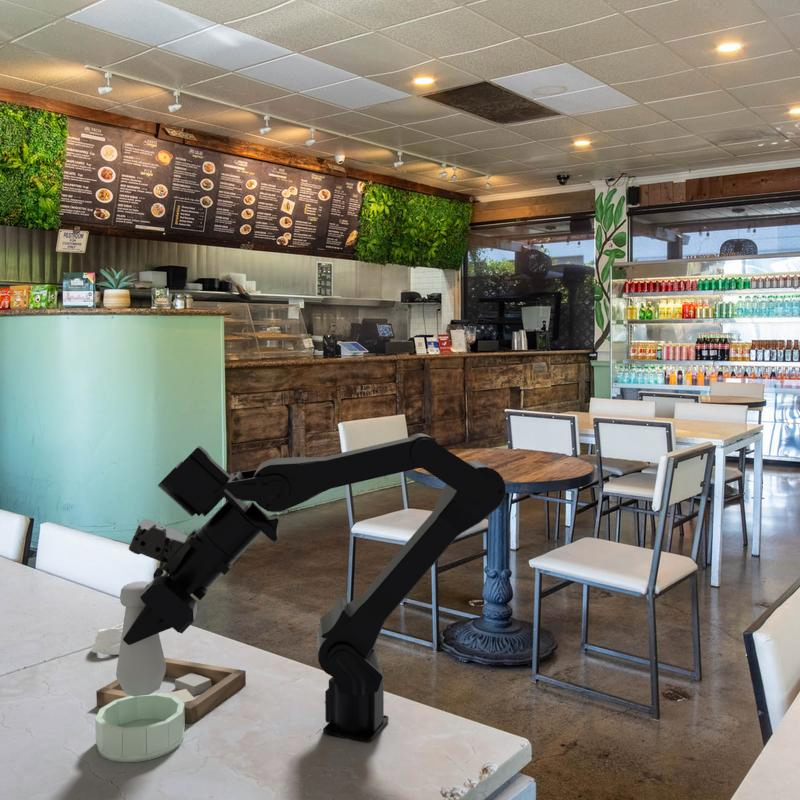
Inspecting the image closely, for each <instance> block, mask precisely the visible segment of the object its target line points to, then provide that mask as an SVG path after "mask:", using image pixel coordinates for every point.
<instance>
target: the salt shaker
mask: <svg viewBox="0 0 800 800" xmlns="http://www.w3.org/2000/svg"><path fill="white" fill-rule="evenodd" d="M151 582H152V581H144V580H142V581H141V580H140V581H139V580H138V581H133V582H130V583H127V584H125V585H123V587H122V588H121V589H120V596H119V599H120V604H121V605H122V606H123V607H125V608H124V609H125V612H124V616H123V621H124V623H123V630H122V637H121V643H120V650H119V655H118V658H117V666H116V673H115V678H116V680H118V682H119V684H120V686H121V688H122V690H123V692H124V693H126V694H128V695H131V696H133V697H134V696H142V695H150V694H151V693H156V691H159V690H160V689H161V686H162V683H163V681H164V678H165V676H166V675H165V673H166V662H165V658H166V657H165V656H164V655H165V654H164V650H163V646H162V643H161V639H160V633H157V634H155V635H152V636H150V637H148V638H145V639H143V640H141V641H138V642H136V643H134V644H131V645H128V644H127V643H125V642H124V641H123V638H124V636H125V635H126V633H127V632H128V630H129V629H130V627H131V626H132V624H133V623H134V621H135V620H136V618H137V617H138V615H139V614H140V612H141V611H142V609H143V608H144V606H145V603H143V601H142V600H141V598H140V596H141V595H142V593H143V591H144V589H145V587H146V586H147V584H150V583H151Z"/></svg>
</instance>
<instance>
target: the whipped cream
mask: <svg viewBox="0 0 800 800" xmlns="http://www.w3.org/2000/svg"><path fill="white" fill-rule="evenodd" d="M123 623H124V620H122V621H121V622H120V623H118V624H117V625H115V626H112V627H111V626H110V627H108V628H104V629H103V628H102V629H98V630H97V631H98V632H97V634H96V636H95V640H94V642H95V643H94V644H93V648H91V649H90V651H91V652H92V653H94V654H97V653H99V654H103V655H108V656H113V655H117V656H119V650H120V643H121V637H122V630H123Z"/></svg>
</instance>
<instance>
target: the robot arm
mask: <svg viewBox="0 0 800 800" xmlns="http://www.w3.org/2000/svg"><path fill="white" fill-rule="evenodd" d="M417 469H422V470H424V471H426V472H427V473H429V474H431V475H432V476H434V477H435V478H436V479H438V480H440V481H441V482H442V483H444V484H445V485H444V487H443V488H442V490H441V492H440V495H439V497H438V499H437V502H436V504H435V507H434V509H433V511H432V512H431V513H430V515H429V516H428V517H427V518H426V519H425V521H424V522H423V523H422V524H421V525H420V526H419V528H418V529H417V530H416V531H415V532H414V533H413V534H412V536H411V537H410V538H409V539H408V540H407V542H406V543H405V544H404V545H402V547H401V549H399V551H398V552H397V553H396V554H395V556H393V558H392V559H391V560H389V562H388V563H387V565H386V566H385V567H384V568H383V570H381V572H380V573H378V575H377V577H376V578H375V579H373V581H372V582H371V583H370V585H369V586H368V587H367V588H366V589H365V591H364V592H363V593H362V594H361V595H360V596H358V597H357V598H354V599H352V600H351V601H349V602H348V601H346V600H345V599H344V597H343V596H339V597H338V599H337V600H336V601H335V603H334V605H333V606H332V608H331V609H330V611H328V612H327V613H326V614H325V615H323V616H321V617H319V625H320V626H319V628H318V630H317V633H316V644H317V657H318V658H317V662H318V663H319V666H320V668H321V669H322V671H323V672H324V673H325V674H327V675H329V676H331V677H330V678H329V679H328V688H327V689H326V690H325V692H324V693H325V694H324V695H325V696H324V697H325V701H324V704H325V707H324V709H325V712H324V713H325V719H324V720H325V722H326V723H327V724H326V725H325V726H324V727H323V728H322V733H323V735H324V734H325V735H330V736H334V737H335V736H336V737H339V738H346V739H352V740H355V741H356V740H357V741H363V742H367V743H368V742H371V741H373V740H374V738H375V737H376V736H377V735H378V733H380V732H381V730H382V729H383V728H384V727H385V725H386V724H387V723H388V722H389V716H388V715H385V714H384V711H385V710H384V705H385V703H384V694H385V693H384V688H385V687H384V685H385V684H384V682H385V681H384V677H383V674H382V670H381V666H380V662H379V658H378V654H377V651H376V649H375V648H374V647H375V646H376V643H377V640H378V639H379V636H380V633H381V631H382V628H383V626H384V625H385V623H386V621H387V620H388V618H389V617H390V616H391V615H392V613H394V611H395V610H396V609H397V608H398V607H399V605H400V604H401V603H402V602H403V601H404V600H405V598H406V597H407V596H408V595H409V594H410V593H411V591H412V590H413V589H414V588H415V587H416V586H417V584H418V583H419V582H420V581H421V580H422V579H423V577H424V576H425V575H426V574H427V573H428V572H429V570H430V569H431V568H432V567H433V566H434V565H435V564H436V562H437V561H438V560H439V559H440V557H442V555H443V554H444V553H445V552H446V551H447V549H448V548H449V547H450V546H451V545H452V543H453V542H454V541H456V539H457V537H459V536H460V535H461V534H463V533H465V532H466V531H468V530H470V529H472V528H474V527H475V526H477V525H479V524H481V523H482V521H484V520H485V519H486V518H488V517H489V516H490V515H492V514H493V513H494V512H495V511H496V510H498V508H499V507H501V505H502V504H503V502H504V500H505V498H506V495H507V493H506V491H507V490H506V482H505V480H504V478H503V476H502V474H500V473H499V472H498V471H497V470H495V469H493V468H492V467H490V466H488V465H487V464H485V463H483V462H481V461H478V460H466V461H465V460H463V459H462V458H461V457H459V456H457V455H455V454H454V453H452V452H451V451H450V450H449V449H446V448H445V447H443V446H442V445H440V444H438V442H437V440H435V439H434V438H433V437H431V436H430V435H428V434H425V433H414V434H412V435H410V436H409V437H405V438H401V439H396V440H392V441H388V442H382V443H379V444H374V445H370V446H367V447H365V446H364V447H361V448H357V449H352V450H348V451H343V452H338V453H335V454H332V455H327V456H326V455H325V456H319V457H316V456H315V457H313V456H312V457H309V456H307V457H306V456H305V457H304V456H293V457H278V458H277V457H275V458H270V459H267V460H265V461H263V462H262V463H260V464H259V466H258V467H257V468H255V469H251V470H243V471H238V472H232V473H228V472H227V471H226V470H225V469H224V468H223V467H222V466H221V465H219V463H217V462H216V461H215V460H214V459H213V458H212V457H211V455H210V454H209V452H208V451H207V450H205V449H204V448H203V447H202V446H201V445H198V446H197V447H195V449H194V450H193V451H192V452H191V453H190V454H189V455H188V456H187V457H186V458H185V459H184V460H183V461H182V460H181V461H180V462H179V463H178V464H176V466H175V467H173V469H171V471H170V472H169V473H168V474H167V475H165V477H164V478H163V479H162V480H161V481H160V482H159V483H158V484H157V487H158V488H160V490H161V491H163V493H165V494H166V495H167V496H168V497H170V499H171V500H173V501H174V502H175V503H176V504H177V505H178V506H179V507H181V508H182V510H184V512H185V513H187V514H188V515H189V516H190V517H194V516H195V515H197V516H198V517H200V516H201V515H202V516H203V517H206V516H207V515H208V514H210V513H211V512H212V511H213V510H214V508H215V507H217V505H218V504H219V503H220V502H221V501H222V500H223V498H224V499H225V500H227V501H226V502H225V503H224V504H223V505H222V506H221V507H220V508H219V509H218V510H217V511H216V512H215V513H214V514H213V515H212V517H210V518H209V519H208V521H206V522H205V523H204V525H202V526H201V527H200V528H197V529H196V528H195V529H193V530H192V531H191V533H189V534H188V535H186V534H184V533H182V532H180V531H178V530H177V529H174V528H171V527H168V526H167V525H164V524H161V523H158V522H156V521H154V520H152V519H148V518H144V519H142V520H141V522H140V523H139V524H138V526H137V529H136V530H135V533H134V535H133V536H132V540H131V542H130V544H129V546H128V550H129V551H130V552H131V553H133V554H135V555H143V556H145V557H148V558H151V559H153V560H156V561H158V562H160V563H161V564H162V567H161V568H160V567H157V568H156V569H155V571H154V573H153V575H152V576H153V577H152V578H153V580H152V581H150V582H151V583H150V584H147V586H146V587H145V589H144V591H143V593H142V595H141V596H140V598H141V600H142V601H143V603H145V606H144V608H143V609H142V611H141V612H140V614H139V615H138V617H137V618H136V620H135V621H134V623H133V624H132V626H131V627H130V629H129V630H128V632H127V633H126V635H125V636H124V638H123V641H124V642H125V643H127V644H128V645H131V644H134V643H136V642H138V641H141V640H143V639H145V638H148V637H150V636H152V635H155V634H157V633H159V634H160V633H162V632H164V631H167V630H169V629H173V630H174V631H176V632H177V633H179V634H183V633H184V632H185V631H186V630H187V629H188V628H189V627H190V626H191V625H192V624H193V623H194V621H195V618H196V616H197V611H198V609H197V601H198V600H199V601H201V600H203V598H204V597H205V596H206V595H207V592H208V589H209V588H210V587H211V586H212V585H213V584H214V583H215V582H216V581H217V580H218V579H219V578H220V577H221V576H222V575H223V576H225V575H226V574H227V573H228V572H229V571H230V570H231V567H232V564H233V563H235V561H236V560H237V559H238V558H239V557H240V556H241V555H242V554H243V553H244V551H246V550H247V548H248V547H249V546H250V545H251V544H252V543H253V542H254V541H255V540H256V539H257V538H258V537H259V536H260V535H261V534H264V535H265V537H267V538H268V539H269V540H270V541H271V542H273V543H274V542H277V541H278V537H279V536H278V535H279V530H278V525H279V523H280V517H279V515H268V514H266V512H265V511H267V512H269V513H279V512H283V511H286V510H288V509H291V508H294V507H295V506H298V505H301V504H303V503H305V502H307V501H309V500H311V499H313V498H314V497H316V496H318V495H320V494H322V493H324V492H326V491H329V490H332V489H336V488H340V487H344V486H348V485H352V484H356V483H357V484H358V483H361V482H364V481H365V482H366V481H369V480H373V479H378V478H382V477H386V476H390V475H395V474H400V473H403V472H408V471H413V470H417ZM243 500H244V501H249V503H248V504H246V503H245V502H244V501H243ZM261 508H262V509H263V510H265V511H263V510H262V509H261ZM192 595H193V596H194V597H196V598H197V599H198V600H196V599H195V598H194V597H193V596H192ZM347 602H348V603H347Z"/></svg>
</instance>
